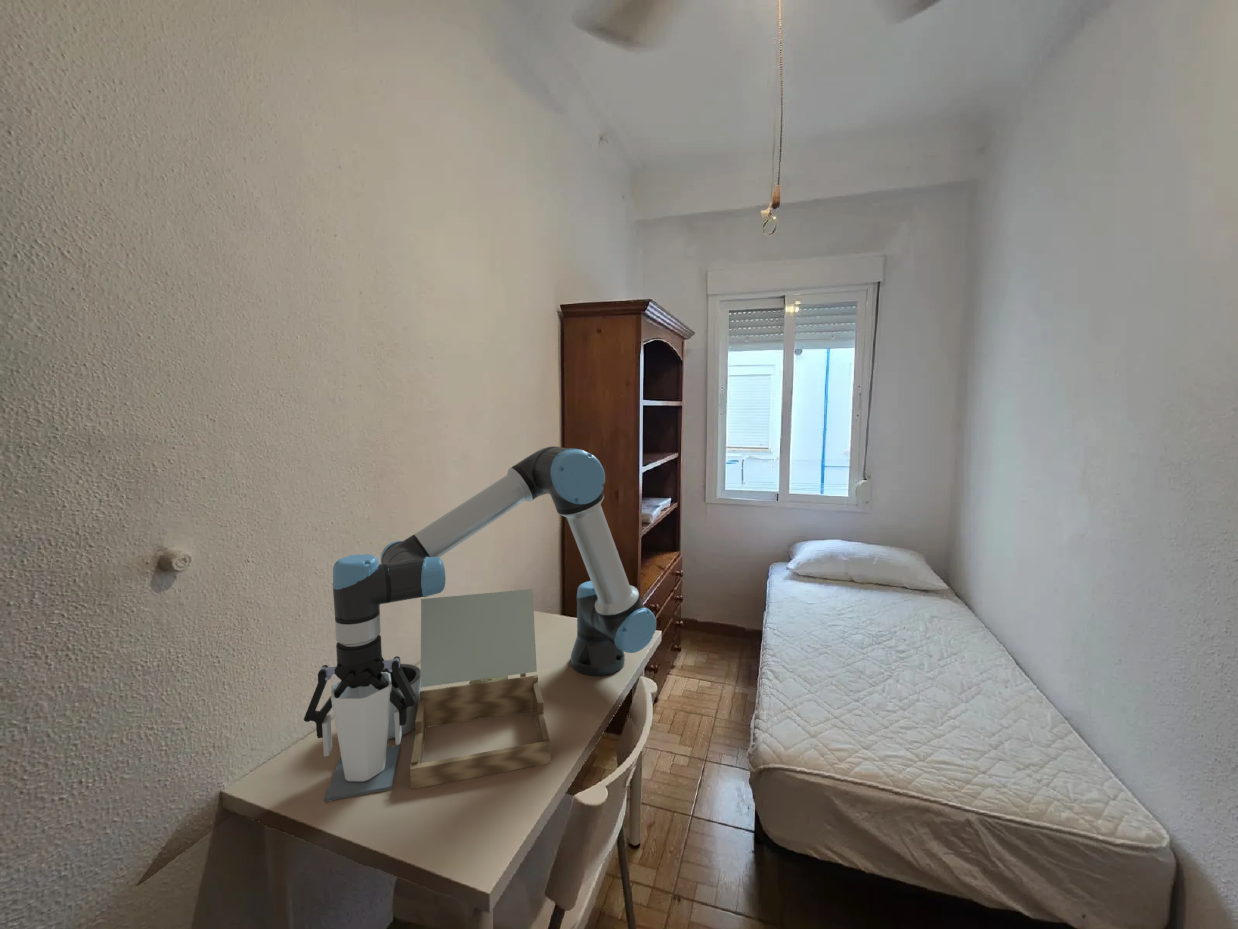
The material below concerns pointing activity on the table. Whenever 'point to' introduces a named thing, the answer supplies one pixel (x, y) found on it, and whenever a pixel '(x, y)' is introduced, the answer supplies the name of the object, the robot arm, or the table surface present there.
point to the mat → (354, 788)
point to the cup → (362, 729)
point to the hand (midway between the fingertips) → (364, 745)
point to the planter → (415, 681)
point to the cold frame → (471, 706)
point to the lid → (477, 637)
